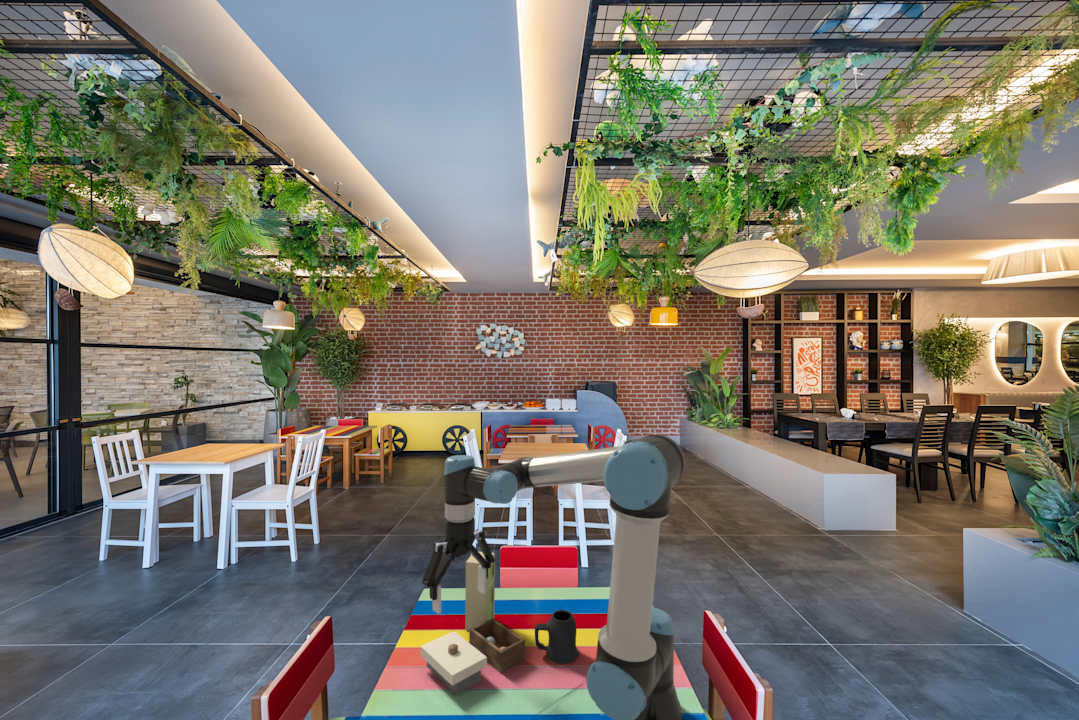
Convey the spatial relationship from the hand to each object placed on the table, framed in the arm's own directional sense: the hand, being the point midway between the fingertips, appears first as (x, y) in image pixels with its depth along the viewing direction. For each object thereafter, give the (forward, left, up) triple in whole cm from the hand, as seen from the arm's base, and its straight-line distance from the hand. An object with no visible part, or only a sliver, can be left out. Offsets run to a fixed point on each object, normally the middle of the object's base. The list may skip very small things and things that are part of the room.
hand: (460, 601), depth 120 cm
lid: (+1, +2, -15) cm, 15 cm away
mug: (-11, -23, -19) cm, 32 cm away
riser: (+1, +2, -19) cm, 19 cm away
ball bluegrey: (+3, -11, -18) cm, 21 cm away
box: (0, -11, -19) cm, 22 cm away
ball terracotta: (-3, -11, -18) cm, 22 cm away
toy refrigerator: (+14, -16, -19) cm, 29 cm away
